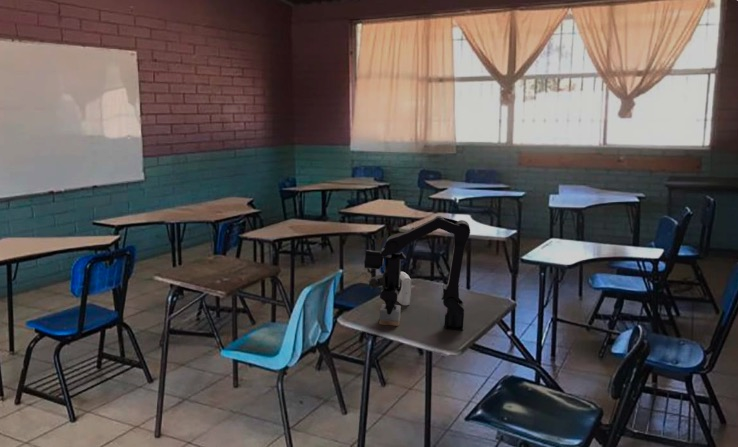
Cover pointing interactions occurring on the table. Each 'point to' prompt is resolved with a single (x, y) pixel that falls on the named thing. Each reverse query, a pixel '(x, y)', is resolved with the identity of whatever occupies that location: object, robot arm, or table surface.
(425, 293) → the table surface
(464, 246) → the robot arm
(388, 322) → the tan knobbed plate
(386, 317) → the hollow square frame
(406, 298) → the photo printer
